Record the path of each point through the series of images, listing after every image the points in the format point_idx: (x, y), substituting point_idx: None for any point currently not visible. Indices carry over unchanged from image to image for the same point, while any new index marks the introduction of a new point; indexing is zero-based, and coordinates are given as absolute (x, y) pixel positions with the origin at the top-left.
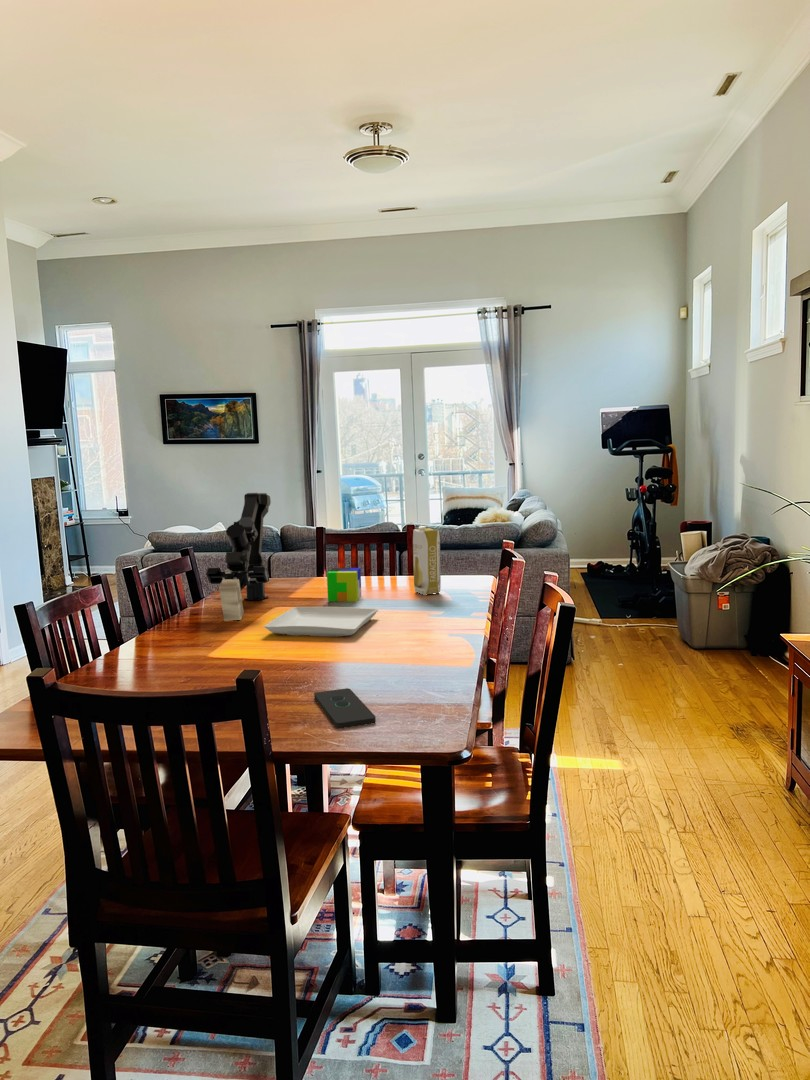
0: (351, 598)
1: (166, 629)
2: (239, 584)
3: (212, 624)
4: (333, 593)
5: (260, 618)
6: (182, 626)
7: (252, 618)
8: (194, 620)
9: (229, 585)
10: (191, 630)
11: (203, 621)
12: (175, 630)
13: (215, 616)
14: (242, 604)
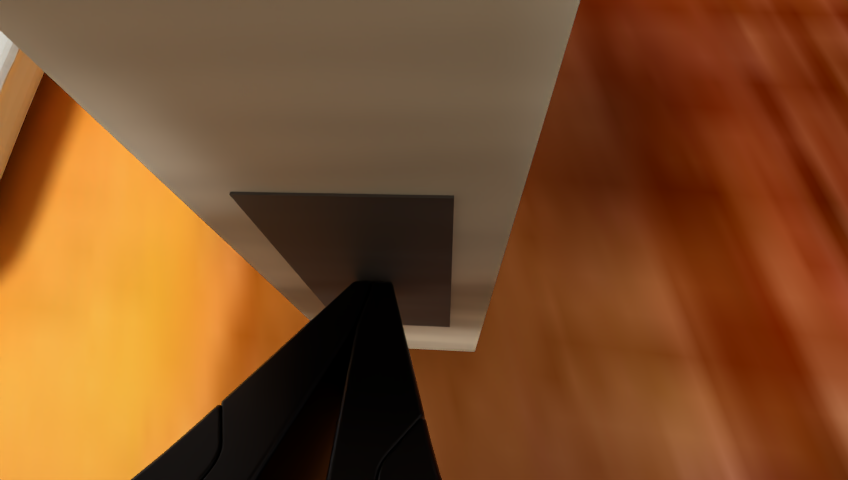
0: None
1: (818, 36)
2: (106, 113)
3: None
4: None
5: (224, 296)
6: (739, 107)
7: (281, 303)
8: (728, 288)
9: None
10: (625, 5)
11: (637, 245)
12: (737, 9)
13: (597, 420)
14: (309, 317)
